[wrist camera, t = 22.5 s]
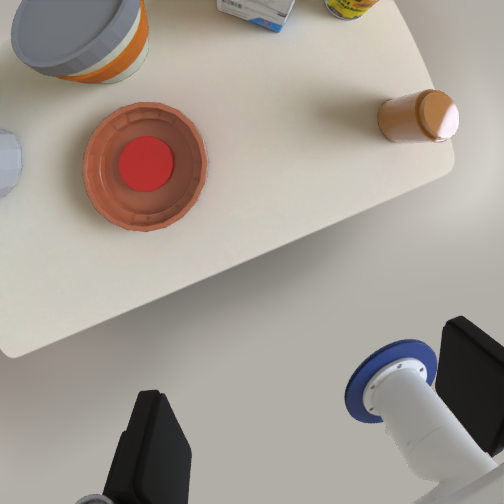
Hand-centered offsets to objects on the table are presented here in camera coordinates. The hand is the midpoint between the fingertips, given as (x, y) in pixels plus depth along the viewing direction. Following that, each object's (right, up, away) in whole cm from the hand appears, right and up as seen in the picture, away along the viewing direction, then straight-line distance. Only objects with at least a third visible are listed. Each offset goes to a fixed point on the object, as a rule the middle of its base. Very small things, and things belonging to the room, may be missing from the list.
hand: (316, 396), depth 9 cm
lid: (-14, +14, +25) cm, 32 cm away
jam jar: (+17, +22, +28) cm, 39 cm away
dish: (-14, +15, +27) cm, 34 cm away
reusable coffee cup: (-19, +29, +22) cm, 42 cm away
